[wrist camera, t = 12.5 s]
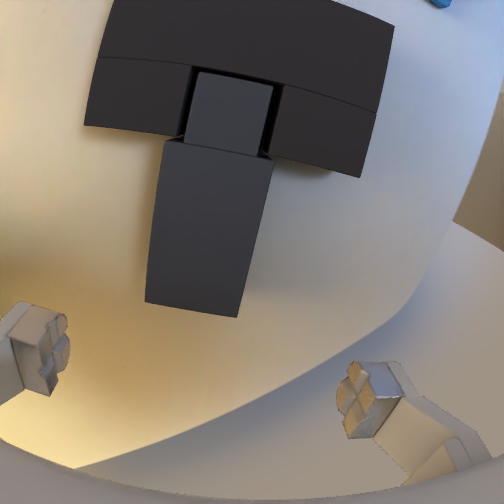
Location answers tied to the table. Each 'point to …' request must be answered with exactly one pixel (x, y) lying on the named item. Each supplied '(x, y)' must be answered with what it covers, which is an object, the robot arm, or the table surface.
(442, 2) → the handheld gaming device
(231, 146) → the charcoal tabbed block
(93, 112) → the charcoal u-shaped block
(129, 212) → the table surface
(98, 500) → the robot arm
